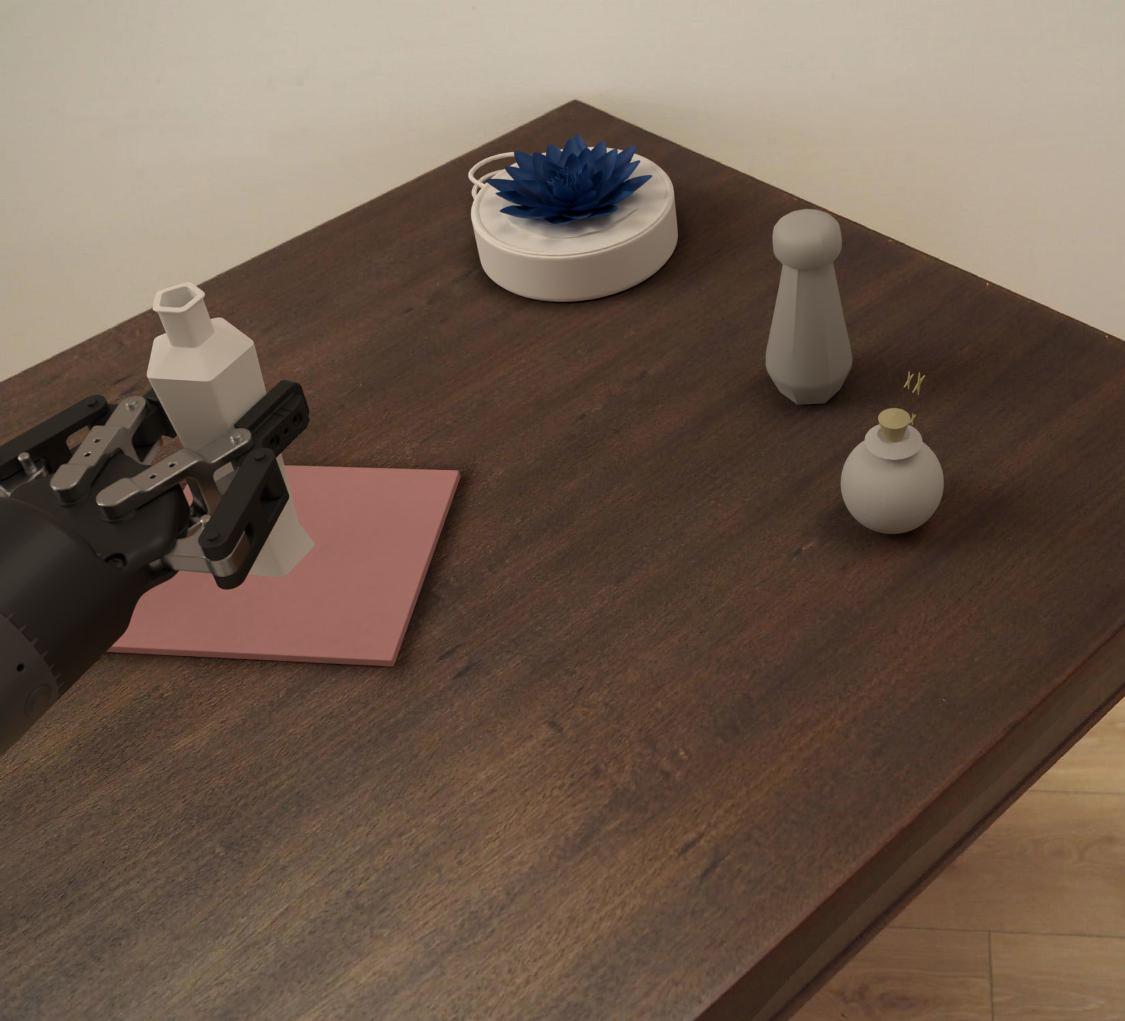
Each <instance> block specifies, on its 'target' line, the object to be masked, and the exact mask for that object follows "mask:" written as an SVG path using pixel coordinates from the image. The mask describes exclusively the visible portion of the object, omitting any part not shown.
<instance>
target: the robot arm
mask: <svg viewBox="0 0 1125 1021" xmlns="http://www.w3.org/2000/svg"><path fill="white" fill-rule="evenodd" d="M310 422H311V419H310V408H309V405H308V401H307V398H306V396H305V392H304V389H303V386H302V384H300V382H296V381H292V380H289V379H285V378H284V379H281V380H280V381H278V382H277V384H275V386H273V387H271V389H270V390H269V391H268V392H266V395H265V396H264V397H263V398H262V399H261V400H260V401H259V402H258V403H256V404H255V405H254V406H253V407H252V408H251V409H250V410H249V411H248V412H247V413H246V414H245V415H244V416H243V417H242V418H240V419H239V420H238V421H237V422H236V423H235V424H234V427H235V429H233V430H231V431H229V432H227V433H226V434H224V435H222V436H221V437H219V438H217V439H216V440H214V441H212V442H211V443H209V444H207V445H206V446H204V447H202V448H201V449H199V450H192V449H190V448H184V447H182V448H180V449H179V450H176V451H175V452H173V453H172V454H170V455H169V456H166V457H165V458H164V459H162V460H160V461H159V462H157V463H155V464H152V463H153V461H154V459H155V458H156V457H157V455H158V453H159V452H160V450H161V449H162V447H163V445H164V439H163V438H162V437H163V436H165V437H167V438H171V439H175V438H176V437H178V435H177V433H176V431H175V429H174V428H173V426H172V424H171V422H170V420H169V418H168V416H167V414H166V412H165V410H164V408H163V406H162V404H161V402H160V401H159V399H158V397H157V395H156V393H155V391H154V389H153V387H152V388H150V389H149V390H147V392H146V393H145V394H144V395H142V396H141V395H132V396H129V397H126V398H124V399H123V400H121V401H120V402H119V403H108V401H107V398H106V397H105V396H104V395H101V394H93V395H92V394H91V395H89V396H87V397H85V398H83V399H81V400H79V401H77V402H75V403H74V404H72V405H70V406H68V407H67V408H64V410H61V411H60V412H57V414H54V415H53V416H51V417H49V418H47V419H46V420H44V421H42V422H40V423H38V424H37V425H35V426H34V427H33V426H32V428H29V429H27V431H26V430H25V432H23V433H21V434H19V435H17V436H16V437H14V438H12V439H11V440H9V441H7V442H5V443H3V444H2V445H0V758H1V757H2V756H4V755H5V754H6V753H7V752H8V751H9V750H10V749H11V748H13V746H14V745H15V744H17V743H18V742H19V741H20V739H21V738H23V736H25V734H27V732H28V731H29V730H30V729H31V728H32V727H33V726H34V725H35V724H36V723H37V722H38V721H40V719H41V718H43V716H44V715H45V714H46V713H47V712H48V711H49V710H50V709H51V708H52V707H53V706H54V705H55V704H56V703H57V702H58V701H59V700H60V699H61V698H62V697H63V696H64V695H65V694H66V693H67V692H68V691H69V690H70V689H71V688H72V687H73V686H74V685H75V684H76V683H77V682H78V681H79V680H80V679H81V678H82V677H83V676H84V675H85V674H86V673H87V672H88V671H89V670H90V669H91V668H92V667H93V666H94V665H95V664H96V663H97V662H98V661H99V660H100V659H101V658H102V657H103V656H104V655H105V654H106V653H107V652H106V651H107V650H108V649H109V648H110V647H111V646H112V645H113V644H114V643H115V642H116V641H117V640H118V639H119V638H120V637H121V636H122V635H123V634H124V633H125V632H126V630H127V629H128V626H129V624H130V621H131V618H132V615H133V612H134V609H135V607H136V605H137V602H138V601H139V599H140V598H141V596H142V595H143V594H145V593H146V592H147V591H149V590H150V589H152V588H154V587H156V586H158V585H160V584H162V583H164V582H166V581H168V580H170V579H171V578H173V577H174V576H175V575H176V574H177V573H178V572H179V571H189V572H201V573H211V574H212V575H213V577H214V579H215V582H216V584H217V586H218V587H219V588H221V589H224V590H230V589H234V588H236V587H238V586H240V585H241V584H242V583H243V582H244V581H245V579H246V577H247V575H248V574H249V572H250V570H251V568H252V566H253V564H254V562H255V561H256V559H257V557H258V555H259V553H260V551H261V550H262V548H263V546H264V544H265V542H266V540H267V538H268V537H269V535H270V533H271V531H272V529H273V527H274V526H275V524H276V522H277V520H278V518H279V516H280V514H281V513H282V511H283V509H284V507H285V505H286V503H287V502H288V500H289V493H288V490H287V487H286V484H285V482H284V479H283V476H282V473H281V471H280V468H279V465H278V462H277V460H276V458H277V457H278V456H279V455H280V454H282V453H283V452H284V451H285V450H286V449H287V448H288V447H289V446H290V445H291V444H292V443H293V441H295V440H296V439H297V438H298V437H299V436H300V435H301V434H302V433H303V432H304V431H305V430H306V429H307V428H308V425H309V423H310ZM85 427H87V429H88V430H89V432H88V434H87V435H86V436H85V438H84V439H83V440H82V441H81V442H80V443H78V444H76V445H75V446H73V447H71V448H70V447H69V446H68V443H67V440H68V438H69V437H70V436H72V435H73V434H75V433H77V432H79V431H80V430H82V429H84V428H85ZM229 462H231V464H232V467H233V469H234V471H232V472H230V473H229V474H227V475H226V476H224V477H222V478H221V479H219V480H217V481H216V482H215V481H214V478H213V475H214V473H215V471H216V470H218V469H219V468H221V467H222V466H224V465H226V464H227V463H229ZM183 481H186V485H187V484H188V486H189V488H190V491H191V493H192V496H193V501H192V504H191V505H190V506H189V504H188V501H187V499H186V497H185V494H184V492H183V491H184V489H183V487H182V485H181V484H180V483H181V482H183Z"/></svg>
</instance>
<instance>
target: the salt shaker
mask: <svg viewBox="0 0 1125 1021" xmlns="http://www.w3.org/2000/svg"><path fill="white" fill-rule="evenodd" d="M842 243H843V238H842V231H841V227H840V223H839V221H838V220H837V219H836V218H834V216H833V215H831V214H830V213H828V212H825V211H822V210H820V209H813V208H812V209H811V208H804V209H798V210H793V211H791V212H789V213H787V214H785V215H783V216H782V217H780V218H779V219H778V221H777V222H776V223H775V225H774V226H773V229H772V250H773V255H774V256H775V259H777V260H778V261H779V262H780V263H781V265H782V267H781V273H780V279H779V285H778V289H777V290H778V291H777V295H776V300H775V305H774V310H773V316H772V320H771V324H770V330H769V335H768V341H767V345H766V350H765V368H766V372H767V374H768V376H769V377H770V379H771V380H772V382H773V383H774V385H775V386H776V388H777V390H778V392H779V393H781V394H782V395H783V396H785V397H786V398H787V399H788V400H790V401H792V402H794V404H796V405H797V406H798V405H818V404H826V403H827V402H828V401H829V400H830V399H831V398H832V397H834V396H835V395H836V393H838V392H839V391H840V390H841V389H842V387H843V385H844V383H845V381H846V379H847V377H848V376H849V373H850V371H851V370H852V367H853V353H852V348H851V343H850V338H849V334H848V329H847V326H846V325H847V324H846V320H845V315H844V311H843V306H842V301H841V296H840V291H839V286H838V280H837V275H836V271H835V270H836V269H835V265H834V262H835V261H836V259H837V258H838V257H839V256H840V254H841V252H842V249H843V248H842V246H843V244H842Z"/></svg>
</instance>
